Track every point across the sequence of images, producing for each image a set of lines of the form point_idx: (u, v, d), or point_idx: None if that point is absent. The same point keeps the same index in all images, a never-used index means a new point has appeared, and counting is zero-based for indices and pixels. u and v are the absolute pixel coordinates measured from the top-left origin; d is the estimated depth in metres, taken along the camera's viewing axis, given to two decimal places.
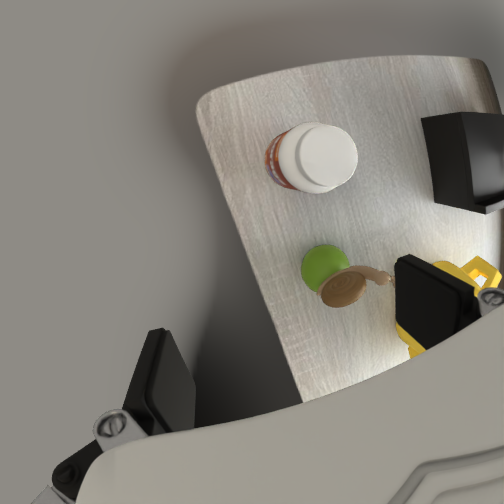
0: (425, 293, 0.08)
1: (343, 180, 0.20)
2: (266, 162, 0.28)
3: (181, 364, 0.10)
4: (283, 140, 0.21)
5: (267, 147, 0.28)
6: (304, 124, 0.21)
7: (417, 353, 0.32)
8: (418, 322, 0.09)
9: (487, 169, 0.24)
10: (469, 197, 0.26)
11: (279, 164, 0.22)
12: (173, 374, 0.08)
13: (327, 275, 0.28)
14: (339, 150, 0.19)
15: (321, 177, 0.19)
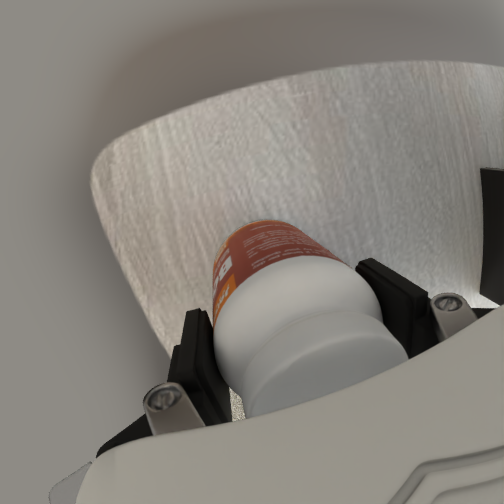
0: (381, 297, 0.09)
1: None
2: None
3: None
4: (221, 318, 0.09)
5: (217, 253, 0.15)
6: (277, 280, 0.08)
7: None
8: None
9: None
10: None
11: None
12: (212, 351, 0.09)
13: None
14: None
15: None
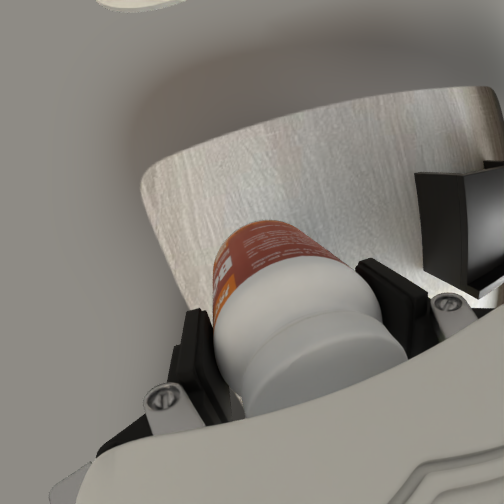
0: (381, 297, 0.09)
1: None
2: None
3: None
4: (221, 318, 0.09)
5: (217, 253, 0.15)
6: (277, 280, 0.08)
7: None
8: None
9: (488, 240, 0.21)
10: (462, 276, 0.23)
11: None
12: (212, 351, 0.09)
13: None
14: None
15: None
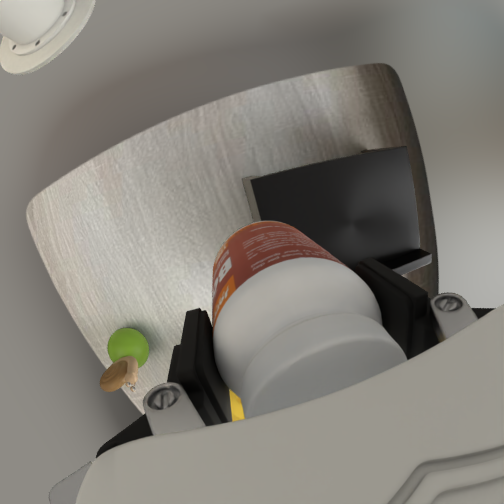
0: (381, 296, 0.09)
1: None
2: None
3: None
4: (220, 320, 0.09)
5: (217, 254, 0.15)
6: (277, 281, 0.08)
7: None
8: None
9: None
10: None
11: None
12: (212, 351, 0.09)
13: (116, 359, 0.29)
14: None
15: None
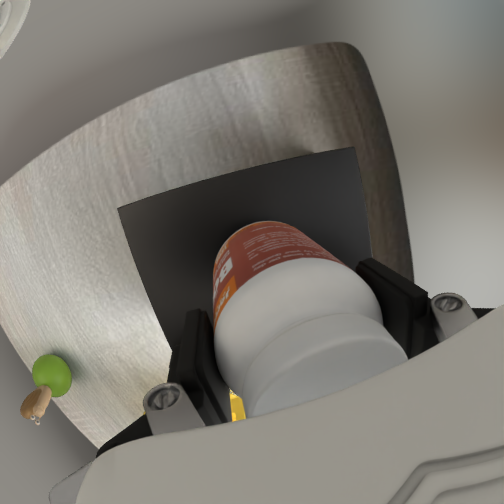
0: (381, 297, 0.09)
1: None
2: None
3: None
4: (222, 320, 0.09)
5: (217, 255, 0.15)
6: (278, 282, 0.08)
7: None
8: None
9: (204, 294, 0.19)
10: None
11: None
12: (212, 351, 0.09)
13: (38, 386, 0.22)
14: None
15: None
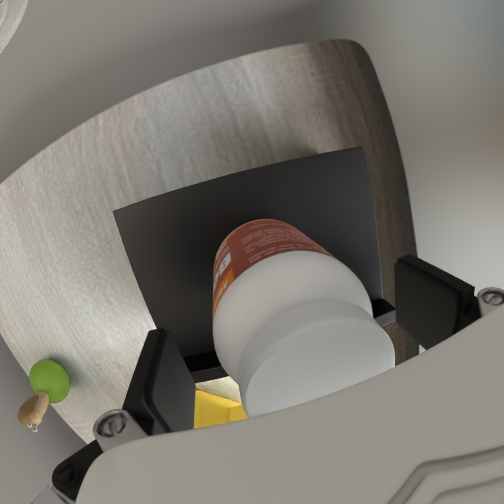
0: (425, 293, 0.08)
1: None
2: None
3: (181, 364, 0.10)
4: (220, 308, 0.09)
5: (218, 251, 0.16)
6: (271, 272, 0.09)
7: None
8: (418, 322, 0.09)
9: (205, 302, 0.18)
10: None
11: None
12: (173, 374, 0.08)
13: (35, 391, 0.21)
14: (352, 375, 0.07)
15: None
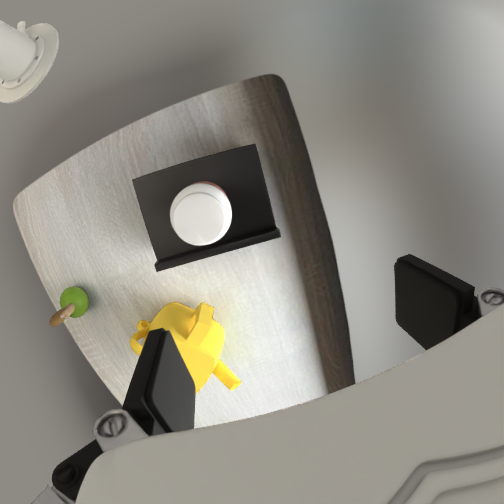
0: (425, 293, 0.08)
1: (211, 239, 0.25)
2: None
3: (181, 364, 0.10)
4: (172, 203, 0.27)
5: None
6: (188, 188, 0.26)
7: None
8: (418, 322, 0.09)
9: None
10: None
11: None
12: (172, 374, 0.08)
13: (64, 307, 0.39)
14: (207, 215, 0.24)
15: (191, 239, 0.25)
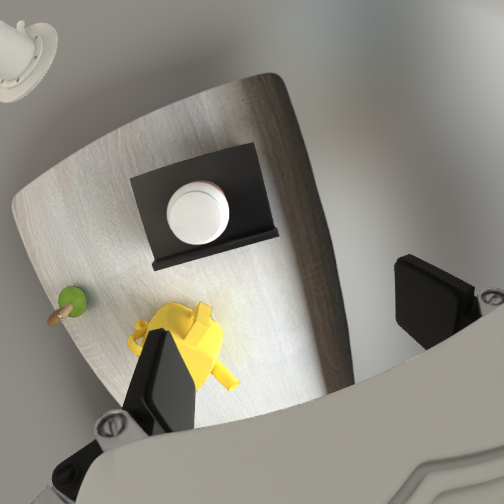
0: (425, 293, 0.08)
1: (208, 238, 0.25)
2: None
3: (181, 364, 0.10)
4: (169, 201, 0.26)
5: None
6: (184, 186, 0.26)
7: None
8: (418, 322, 0.09)
9: None
10: None
11: None
12: (173, 374, 0.08)
13: (62, 306, 0.38)
14: (203, 213, 0.24)
15: (188, 238, 0.24)
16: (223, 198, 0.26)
